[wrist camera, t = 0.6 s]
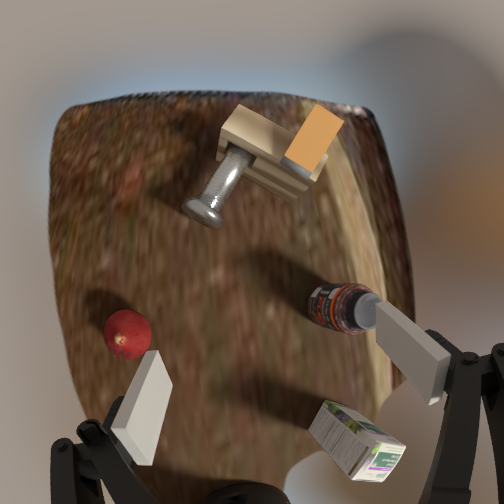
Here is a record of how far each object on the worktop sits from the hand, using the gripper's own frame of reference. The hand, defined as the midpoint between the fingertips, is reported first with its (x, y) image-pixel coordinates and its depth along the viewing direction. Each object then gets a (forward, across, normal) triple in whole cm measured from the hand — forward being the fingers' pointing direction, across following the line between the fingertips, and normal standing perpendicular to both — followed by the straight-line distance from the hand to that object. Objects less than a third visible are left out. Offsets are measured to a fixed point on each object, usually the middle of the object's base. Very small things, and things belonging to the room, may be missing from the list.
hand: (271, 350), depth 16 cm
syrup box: (+16, -6, +26) cm, 31 cm away
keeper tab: (+17, -9, -13) cm, 23 cm away
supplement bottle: (+22, -9, +9) cm, 25 cm away
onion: (+18, +17, +5) cm, 25 cm away
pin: (+23, +1, -10) cm, 25 cm away
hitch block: (+27, -4, -11) cm, 29 cm away
